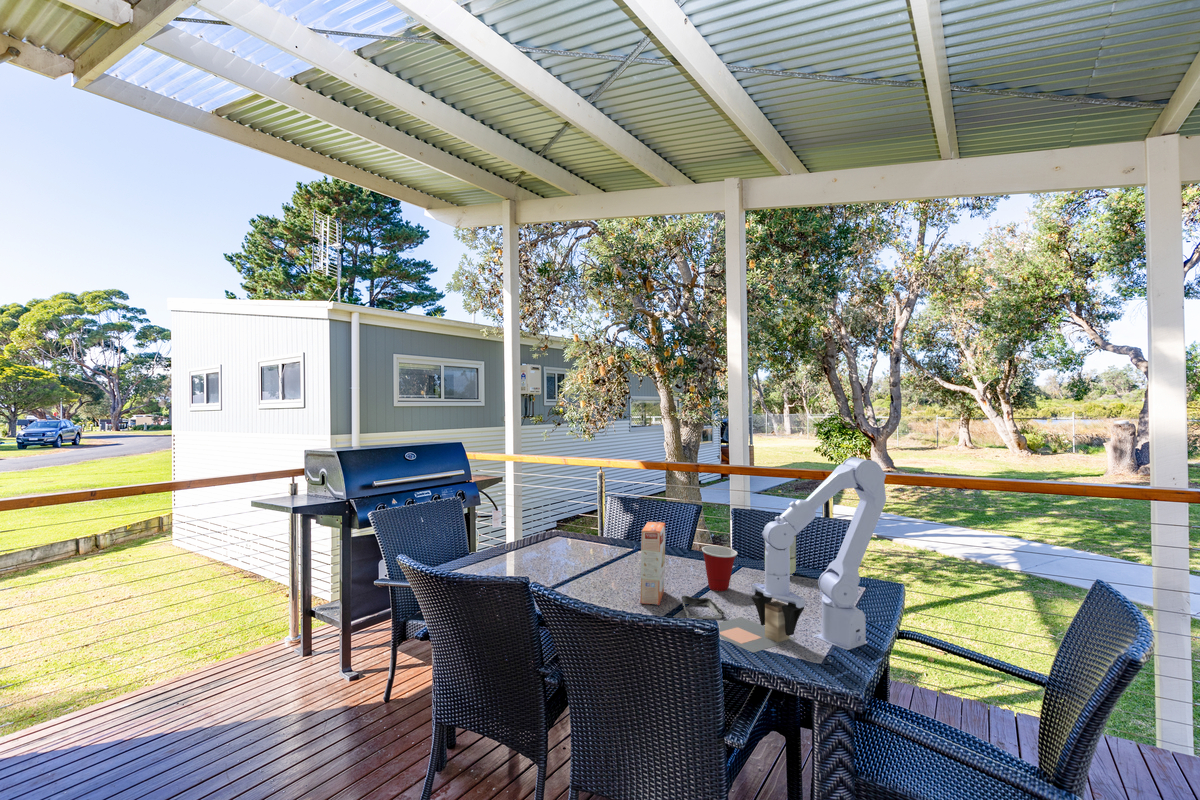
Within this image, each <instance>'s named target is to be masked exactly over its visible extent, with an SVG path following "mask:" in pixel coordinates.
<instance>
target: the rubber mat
mask: <svg viewBox="0 0 1200 800" xmlns="http://www.w3.org/2000/svg"><path fill="white" fill-rule="evenodd" d="M718 623H719V625H720V637H721V638H720V639H722V640H724V641H727V643H731V644H733V645H735V646H737V647H739V648H741V649H743V650H746V651H748V652H749V653H759V652H761V651H763V650H766V649H767V650H768V649H769V648H770V649H771V648H773V647H776V646H779V645H783V644H786V643H789V642H793V641H796V640H797V638H795V637H793V636H792V635H790V636H789V639H788V640H784V641H781V642H776V641H773V640H771V639H769V638H766V637H765V625H761V623H758V622H755V621H753V620H751V619H748V618H746V617H743V616H739V617H738V616H737V617H735V618H731V619H727V620H724V621H720V622H718Z"/></svg>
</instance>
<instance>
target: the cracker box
mask: <svg viewBox="0 0 1200 800" xmlns="http://www.w3.org/2000/svg"><path fill="white" fill-rule="evenodd" d="M640 542H641V544H640V595H639V596H640V597H639V599H640V604H641V603H642V604H641V605H650V604H657V605H656V606H660V604H661V601H662V598H663V595H664V593H665V569H666V568H665V567H666V565H665V564H666V522H662V521H647V522H646V524H645V525H644V527H643V528H642V529H641V540H640Z"/></svg>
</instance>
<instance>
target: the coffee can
mask: <svg viewBox="0 0 1200 800" xmlns="http://www.w3.org/2000/svg"><path fill="white" fill-rule="evenodd" d="M765 552H766V541H765V540H764V553H765ZM796 556H797V535H795V536H794V541H793V544H792V545H791V546H790V575H792V574H793V573H795V571H796V569H797V566H796V565H797V562H796V561H797V557H796ZM796 572H797V571H796Z"/></svg>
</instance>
